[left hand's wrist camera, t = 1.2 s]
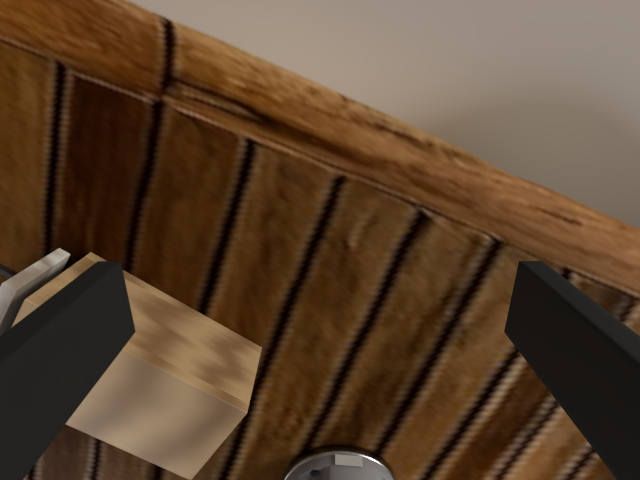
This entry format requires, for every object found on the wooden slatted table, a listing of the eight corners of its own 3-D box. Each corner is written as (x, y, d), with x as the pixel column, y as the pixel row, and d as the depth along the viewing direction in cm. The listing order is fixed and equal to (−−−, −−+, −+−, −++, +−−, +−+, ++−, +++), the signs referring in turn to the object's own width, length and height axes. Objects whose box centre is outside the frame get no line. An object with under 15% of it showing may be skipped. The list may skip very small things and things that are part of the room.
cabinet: (52, 325, 42) (-18, 387, 33) (90, 251, 39) (24, 299, 30) (215, 407, 46) (190, 480, 38) (262, 347, 43) (247, 413, 34)
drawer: (-27, 289, 39) (-99, 331, 32) (3, 216, 36) (-70, 246, 29) (187, 396, 44) (163, 452, 38) (228, 340, 41) (210, 390, 35)
